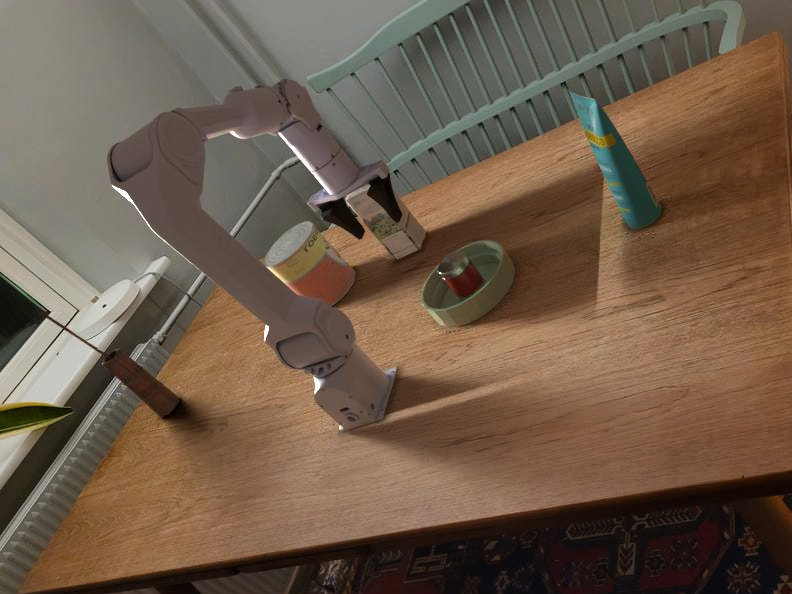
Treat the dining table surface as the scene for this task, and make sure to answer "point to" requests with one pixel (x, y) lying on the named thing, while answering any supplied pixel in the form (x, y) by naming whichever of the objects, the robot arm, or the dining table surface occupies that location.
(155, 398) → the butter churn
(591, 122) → the tube
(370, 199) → the syrup box
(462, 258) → the tin can
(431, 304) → the bowl
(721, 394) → the dining table surface
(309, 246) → the canned food
